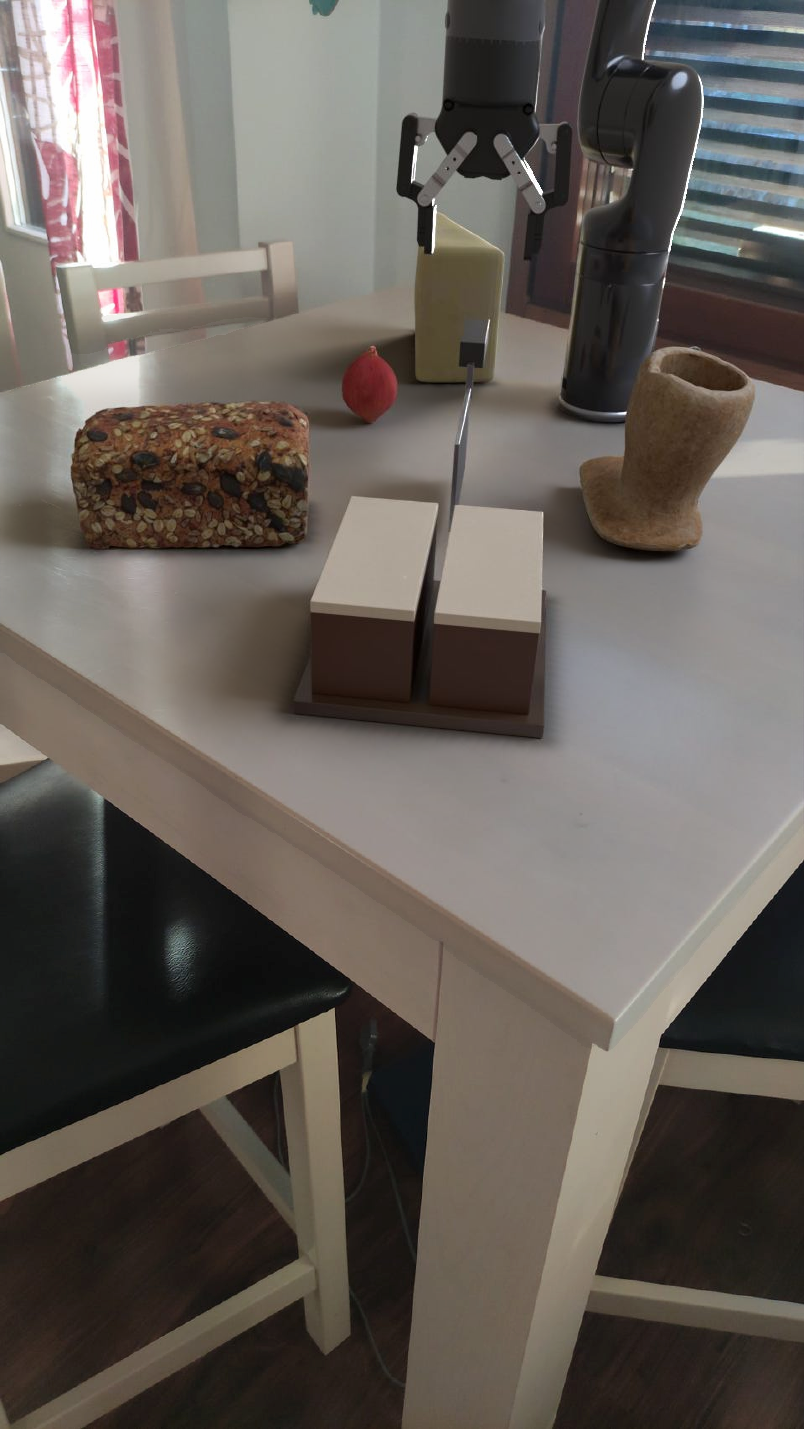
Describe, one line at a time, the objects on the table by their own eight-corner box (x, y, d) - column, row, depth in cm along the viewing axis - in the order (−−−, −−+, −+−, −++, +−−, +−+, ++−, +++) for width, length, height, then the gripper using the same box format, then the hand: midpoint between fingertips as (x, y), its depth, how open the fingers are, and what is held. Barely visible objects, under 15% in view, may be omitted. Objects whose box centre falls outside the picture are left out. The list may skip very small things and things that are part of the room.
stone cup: (731, 567, 87) (776, 387, 78) (587, 558, 87) (615, 377, 79) (701, 494, 99) (736, 330, 91) (575, 486, 100) (598, 322, 91)
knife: (458, 433, 106) (466, 318, 100) (480, 435, 106) (489, 319, 99) (437, 531, 87) (446, 396, 81) (464, 533, 87) (474, 398, 81)
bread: (311, 500, 95) (309, 390, 89) (310, 554, 86) (308, 436, 80) (100, 498, 93) (84, 386, 88) (77, 553, 85) (59, 432, 79)
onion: (332, 426, 110) (332, 349, 106) (355, 409, 115) (355, 334, 110) (383, 435, 109) (385, 357, 104) (404, 418, 113) (407, 342, 109)
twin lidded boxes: (339, 582, 82) (340, 489, 78) (544, 601, 81) (557, 507, 77) (293, 713, 68) (290, 607, 63) (542, 738, 66) (557, 632, 62)
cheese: (388, 331, 140) (392, 208, 132) (460, 331, 142) (468, 209, 133) (413, 384, 123) (419, 246, 114) (495, 383, 124) (507, 247, 115)
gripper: (585, 35, 84) (560, 252, 93) (408, 26, 85) (401, 242, 94) (588, 39, 78) (560, 271, 87) (397, 30, 79) (390, 260, 88)
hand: (477, 256), depth 91 cm, fingers open, 8 cm apart
